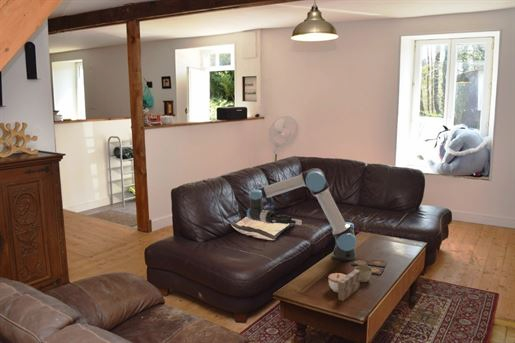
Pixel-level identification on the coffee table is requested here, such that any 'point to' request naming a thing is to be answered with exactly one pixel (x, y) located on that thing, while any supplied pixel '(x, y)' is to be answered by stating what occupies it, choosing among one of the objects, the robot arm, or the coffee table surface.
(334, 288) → the lidded jar
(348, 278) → the grey brown rectangular panel
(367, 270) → the flower pot
